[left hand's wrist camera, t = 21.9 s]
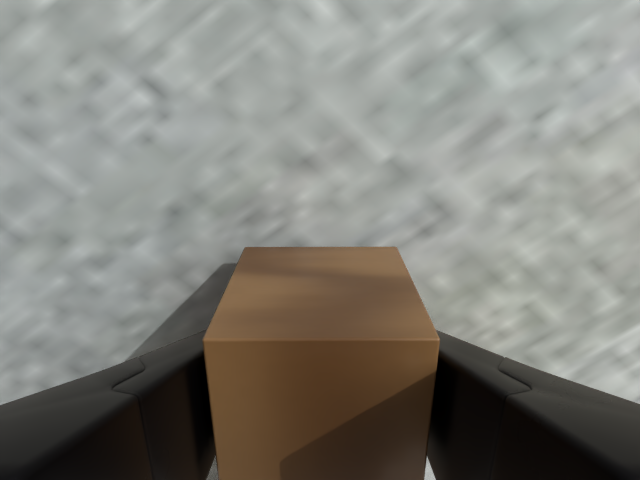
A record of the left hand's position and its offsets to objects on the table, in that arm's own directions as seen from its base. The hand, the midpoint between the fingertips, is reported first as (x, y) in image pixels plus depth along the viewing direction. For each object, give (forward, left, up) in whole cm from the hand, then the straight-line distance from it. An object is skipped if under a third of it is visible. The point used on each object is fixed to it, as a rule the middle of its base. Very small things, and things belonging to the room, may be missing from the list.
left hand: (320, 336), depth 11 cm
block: (0, 0, -1) cm, 1 cm away
